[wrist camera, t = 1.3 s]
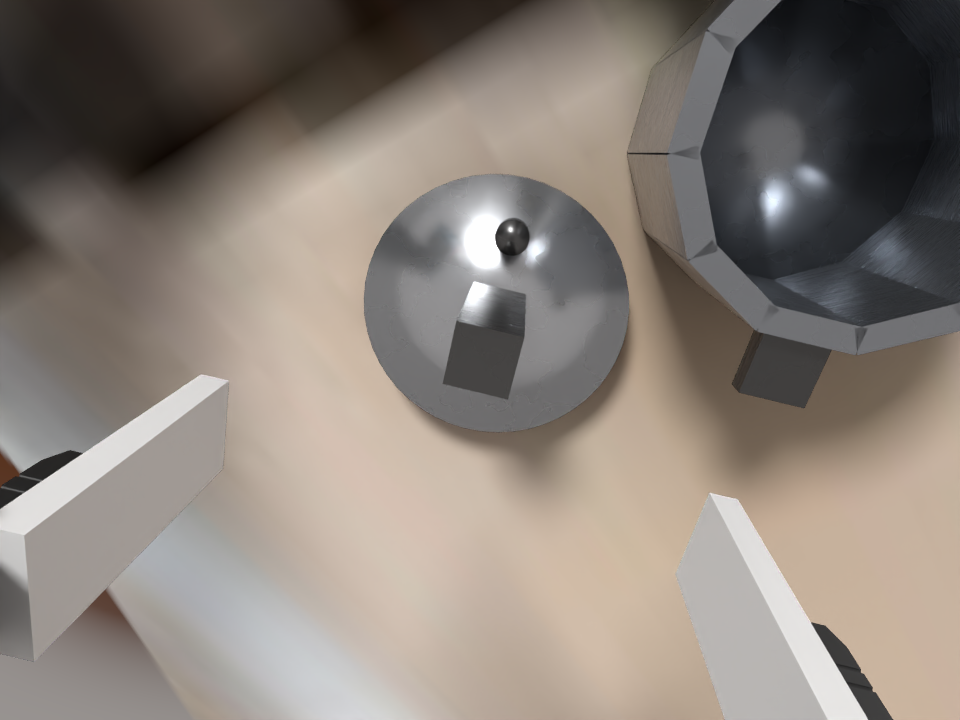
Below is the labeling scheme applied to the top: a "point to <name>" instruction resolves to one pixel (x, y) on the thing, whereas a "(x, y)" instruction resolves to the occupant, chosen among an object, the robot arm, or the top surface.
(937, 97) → the cooker pot
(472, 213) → the lid
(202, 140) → the top surface
